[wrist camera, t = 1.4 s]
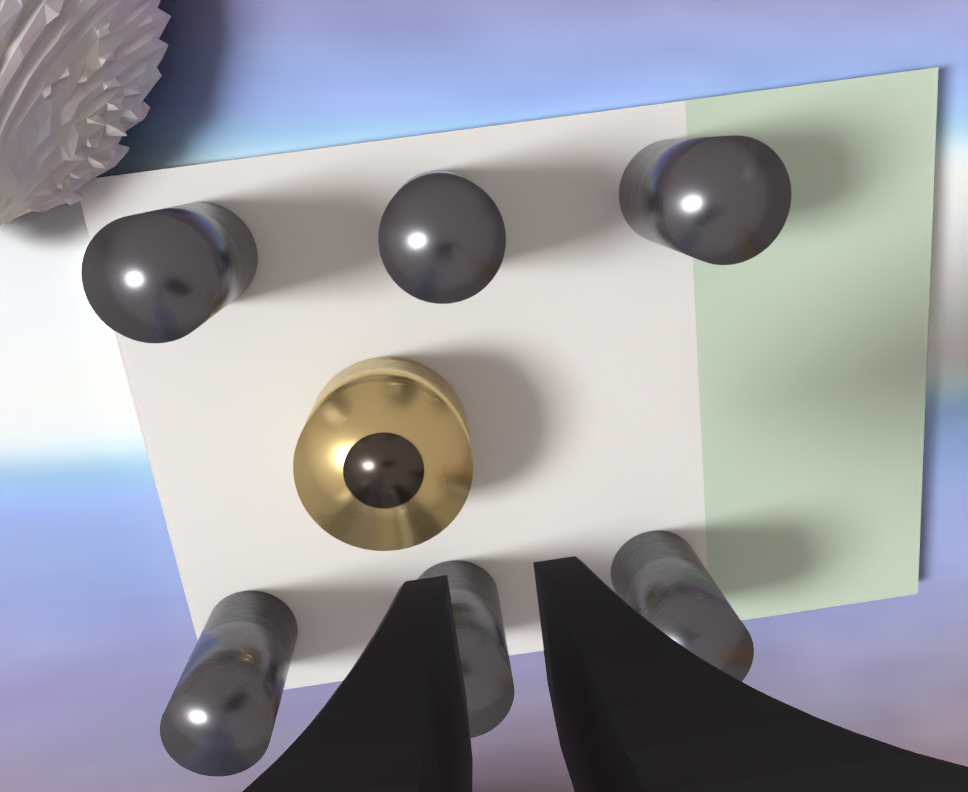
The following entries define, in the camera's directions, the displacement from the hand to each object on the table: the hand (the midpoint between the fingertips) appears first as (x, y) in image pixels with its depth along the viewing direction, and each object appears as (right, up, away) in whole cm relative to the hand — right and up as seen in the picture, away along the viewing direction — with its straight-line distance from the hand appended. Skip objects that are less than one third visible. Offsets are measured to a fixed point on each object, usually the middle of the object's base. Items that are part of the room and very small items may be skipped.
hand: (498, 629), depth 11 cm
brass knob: (-3, +2, +9) cm, 10 cm away
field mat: (+1, +3, +9) cm, 10 cm away
